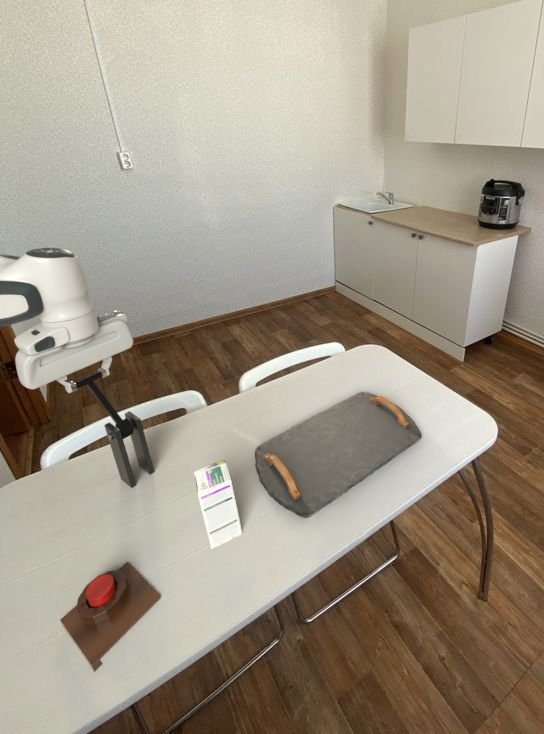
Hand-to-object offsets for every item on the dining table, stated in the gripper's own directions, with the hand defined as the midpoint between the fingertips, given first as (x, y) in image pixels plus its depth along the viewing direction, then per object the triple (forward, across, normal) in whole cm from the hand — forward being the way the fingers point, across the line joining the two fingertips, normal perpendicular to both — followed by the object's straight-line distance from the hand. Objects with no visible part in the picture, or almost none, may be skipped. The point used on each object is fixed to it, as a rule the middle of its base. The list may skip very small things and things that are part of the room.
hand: (88, 383), depth 83 cm
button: (+18, +16, +32) cm, 40 cm away
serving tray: (+20, -30, +45) cm, 58 cm away
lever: (+4, 0, +5) cm, 7 cm away
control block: (+21, +16, +34) cm, 43 cm away
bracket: (+21, 0, +12) cm, 24 cm away
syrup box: (+21, -2, +38) cm, 43 cm away
